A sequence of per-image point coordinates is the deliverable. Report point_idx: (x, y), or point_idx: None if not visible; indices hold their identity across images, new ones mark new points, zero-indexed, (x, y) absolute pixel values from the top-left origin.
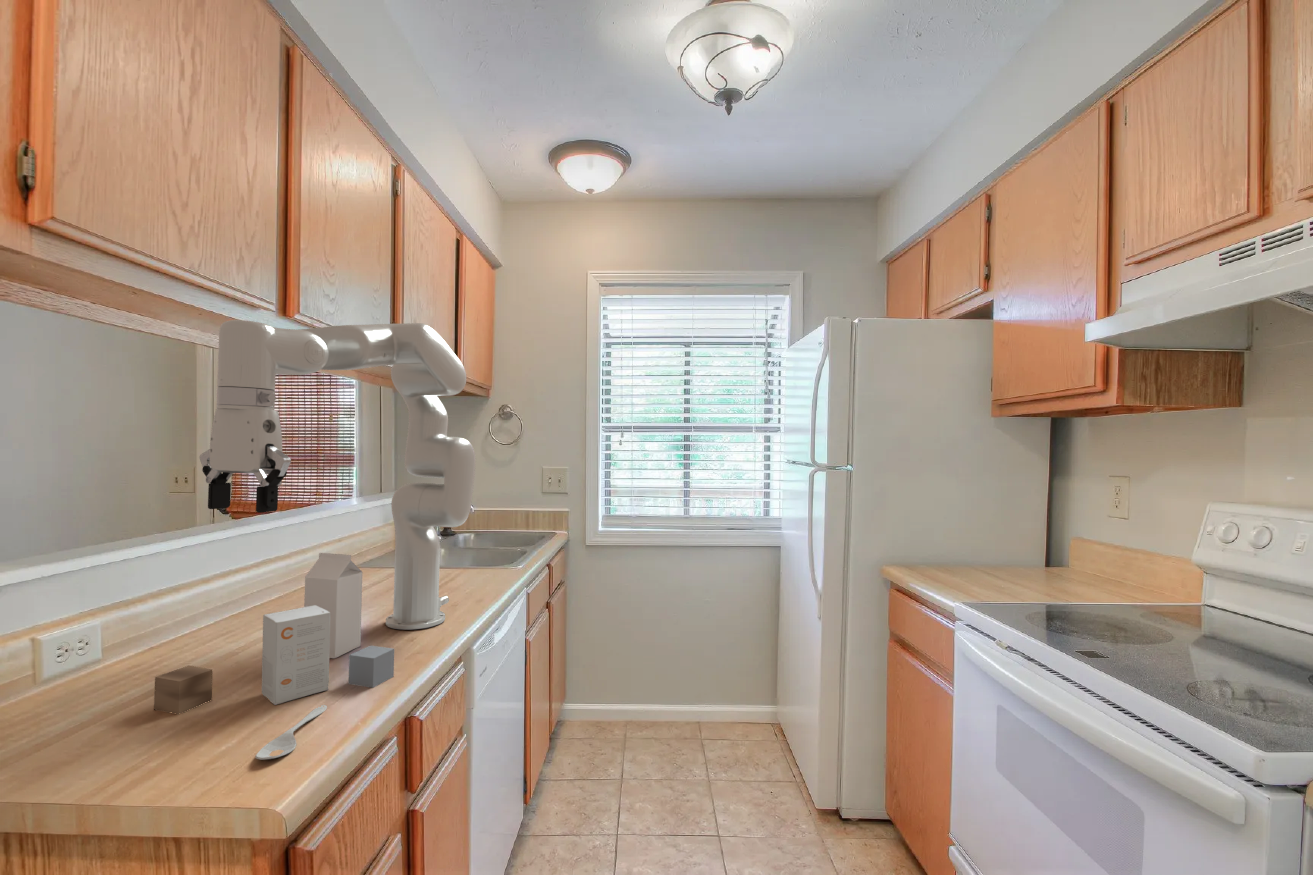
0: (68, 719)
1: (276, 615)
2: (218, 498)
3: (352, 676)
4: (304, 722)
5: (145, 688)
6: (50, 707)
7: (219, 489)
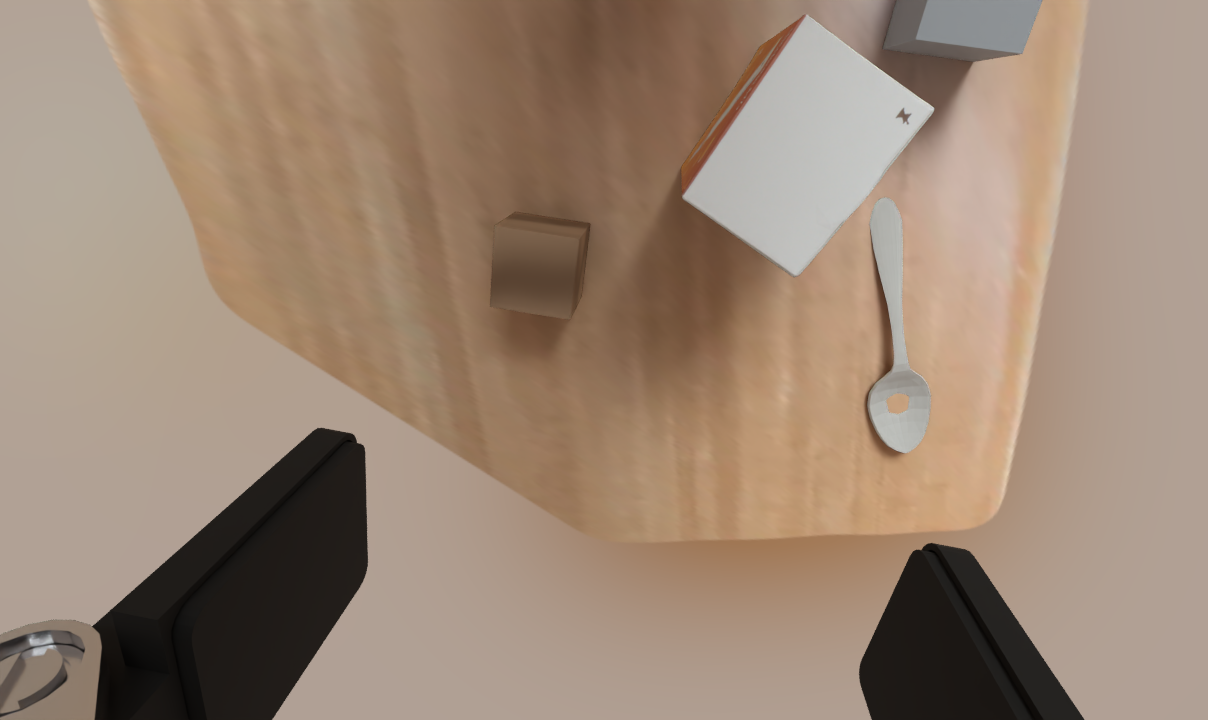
0: (399, 345)
1: (741, 201)
2: (322, 599)
3: (904, 48)
4: (902, 313)
5: (380, 190)
6: (307, 308)
7: (255, 672)
